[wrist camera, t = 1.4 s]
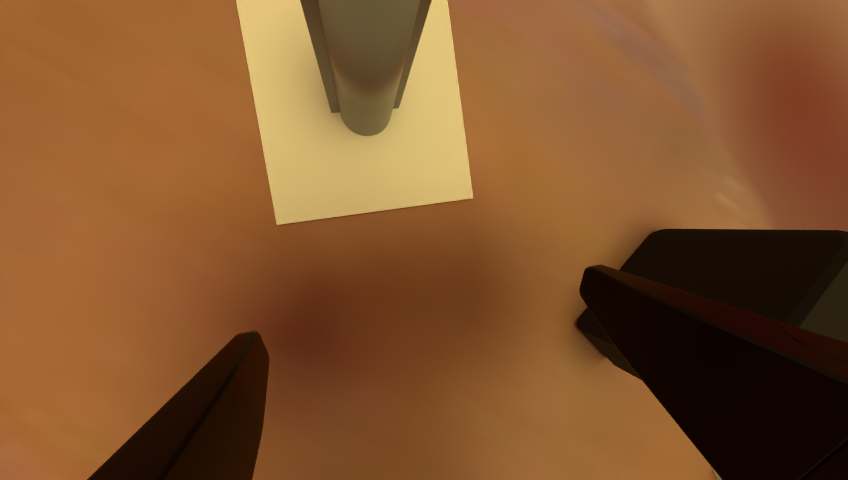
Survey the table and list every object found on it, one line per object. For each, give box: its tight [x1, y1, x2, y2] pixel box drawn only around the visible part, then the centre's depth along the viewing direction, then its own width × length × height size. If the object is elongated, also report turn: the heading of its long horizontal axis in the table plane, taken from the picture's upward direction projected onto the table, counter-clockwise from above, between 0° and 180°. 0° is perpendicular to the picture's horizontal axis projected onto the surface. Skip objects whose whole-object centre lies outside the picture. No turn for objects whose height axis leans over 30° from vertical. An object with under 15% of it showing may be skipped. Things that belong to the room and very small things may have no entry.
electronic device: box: [578, 229, 848, 380], centre depth 18 cm, size 4×10×10 cm, turn 135°
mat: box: [236, 0, 473, 225], centre depth 18 cm, size 14×12×1 cm
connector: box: [300, 0, 432, 136], centre depth 12 cm, size 5×4×12 cm
